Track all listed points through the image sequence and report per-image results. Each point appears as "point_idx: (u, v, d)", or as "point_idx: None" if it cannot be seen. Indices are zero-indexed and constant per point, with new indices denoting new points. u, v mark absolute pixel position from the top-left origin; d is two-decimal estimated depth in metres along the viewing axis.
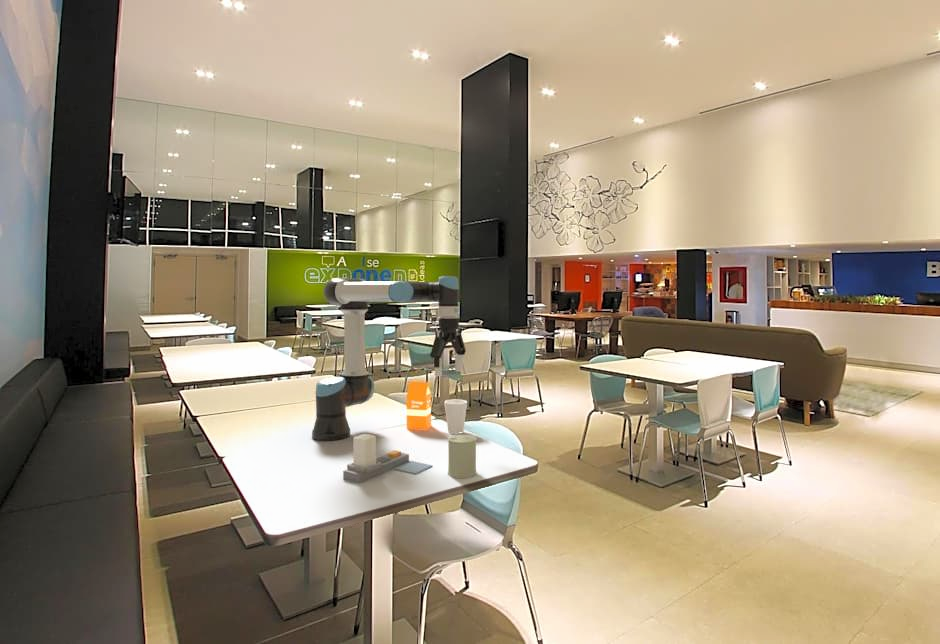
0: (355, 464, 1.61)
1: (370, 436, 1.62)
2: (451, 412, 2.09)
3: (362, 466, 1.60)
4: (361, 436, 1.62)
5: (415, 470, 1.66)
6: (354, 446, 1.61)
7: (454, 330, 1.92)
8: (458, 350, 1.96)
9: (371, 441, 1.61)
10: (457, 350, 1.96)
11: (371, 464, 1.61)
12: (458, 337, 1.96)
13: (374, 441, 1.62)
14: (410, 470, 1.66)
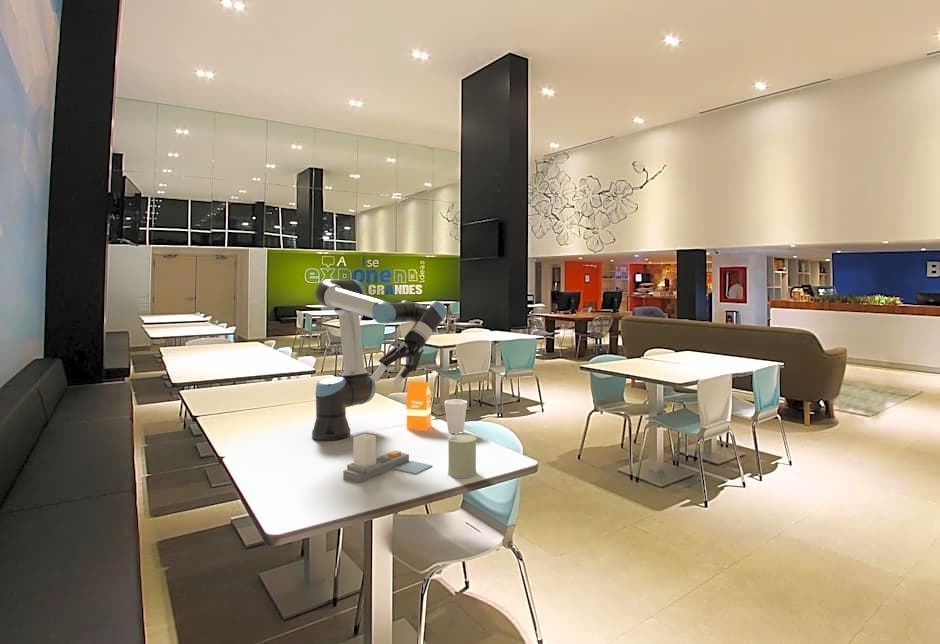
0: (355, 464, 1.61)
1: (370, 436, 1.62)
2: (451, 412, 2.09)
3: (362, 466, 1.60)
4: (361, 436, 1.62)
5: (415, 470, 1.66)
6: (354, 446, 1.61)
7: None
8: (389, 362, 1.86)
9: (371, 441, 1.61)
10: (388, 362, 1.85)
11: (371, 464, 1.61)
12: None
13: (374, 441, 1.62)
14: (410, 470, 1.66)
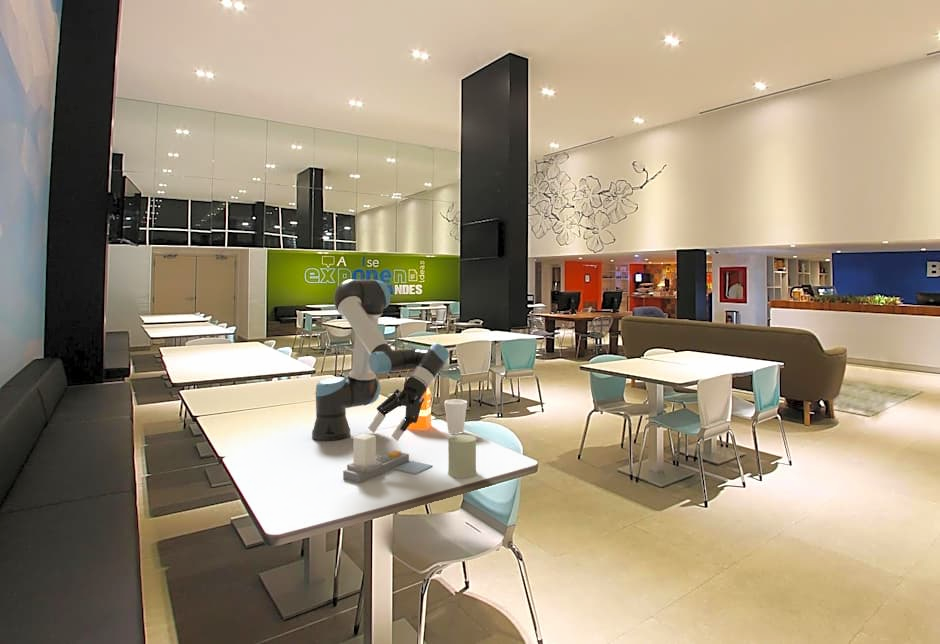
0: (355, 464, 1.61)
1: (370, 436, 1.62)
2: (451, 412, 2.09)
3: (362, 466, 1.60)
4: (361, 436, 1.62)
5: (415, 470, 1.66)
6: (354, 446, 1.61)
7: None
8: (387, 411, 1.73)
9: (371, 441, 1.61)
10: (386, 410, 1.73)
11: (371, 464, 1.61)
12: None
13: (374, 441, 1.62)
14: (410, 470, 1.66)
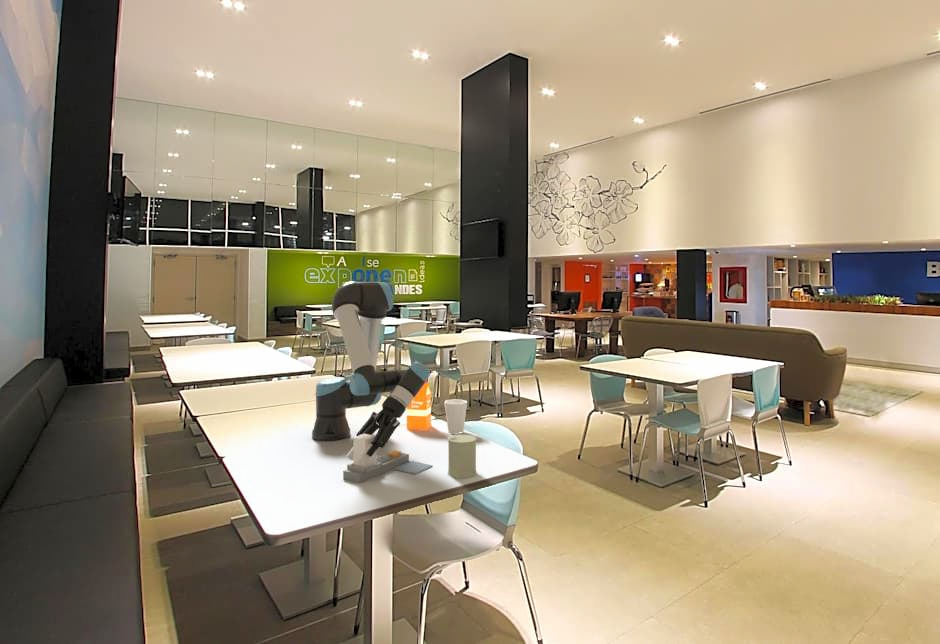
0: (355, 464, 1.61)
1: (370, 436, 1.62)
2: (451, 412, 2.09)
3: (362, 466, 1.60)
4: (361, 436, 1.62)
5: (415, 470, 1.66)
6: (354, 446, 1.61)
7: None
8: None
9: (371, 441, 1.61)
10: None
11: (371, 464, 1.61)
12: None
13: None
14: (410, 470, 1.66)
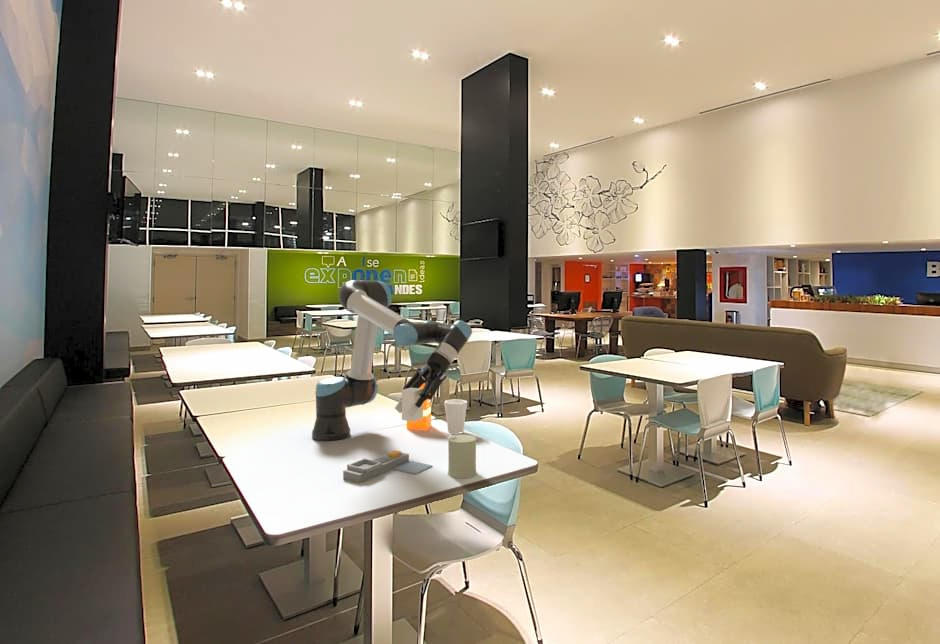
0: (403, 416, 1.67)
1: (417, 389, 1.68)
2: (451, 412, 2.09)
3: (410, 417, 1.65)
4: (409, 389, 1.68)
5: (415, 470, 1.66)
6: (402, 398, 1.67)
7: None
8: None
9: (418, 393, 1.67)
10: None
11: (419, 416, 1.67)
12: (419, 377, 1.76)
13: None
14: (410, 470, 1.66)
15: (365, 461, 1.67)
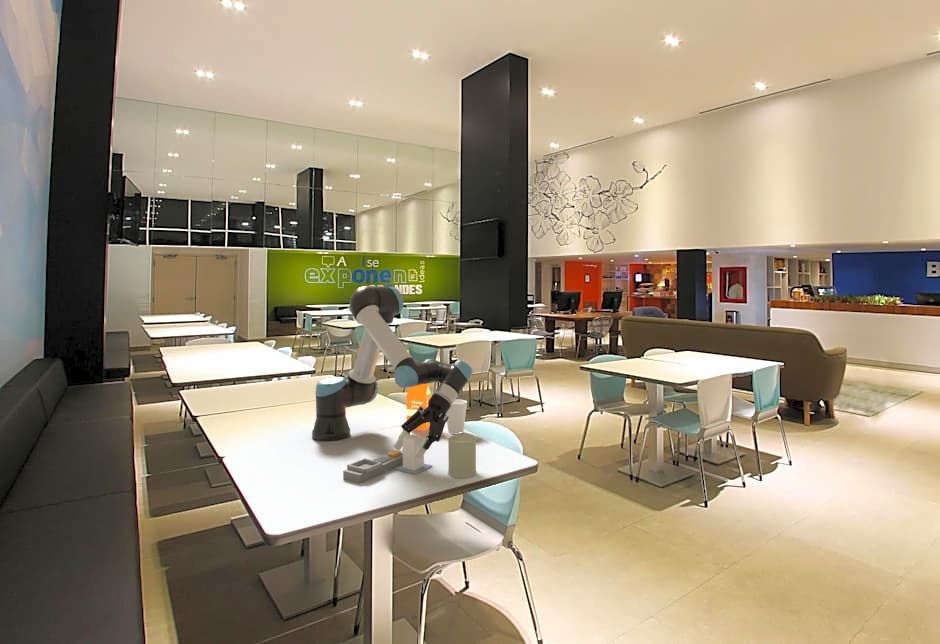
0: (404, 463, 1.68)
1: (418, 437, 1.69)
2: (451, 412, 2.09)
3: (411, 465, 1.66)
4: (410, 437, 1.69)
5: (415, 470, 1.66)
6: (403, 446, 1.68)
7: None
8: (412, 429, 1.75)
9: (419, 441, 1.68)
10: (411, 428, 1.75)
11: (419, 464, 1.68)
12: None
13: (422, 441, 1.69)
14: (410, 470, 1.66)
15: (365, 461, 1.67)
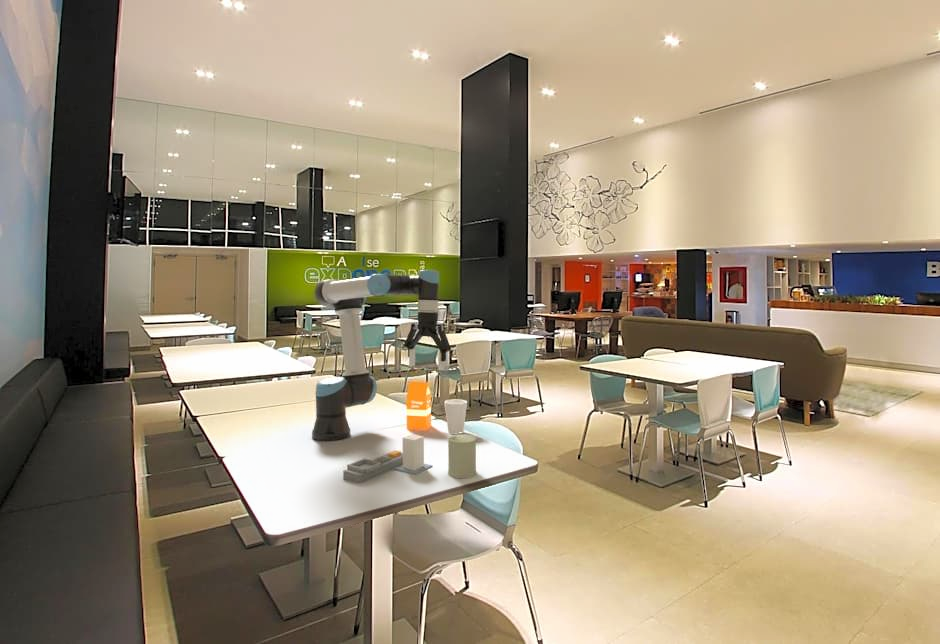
0: (404, 463, 1.68)
1: (418, 437, 1.69)
2: (451, 412, 2.09)
3: (411, 465, 1.66)
4: (410, 437, 1.69)
5: (415, 470, 1.66)
6: (403, 446, 1.68)
7: None
8: (415, 344, 1.93)
9: (419, 441, 1.68)
10: (414, 344, 1.93)
11: (419, 464, 1.68)
12: (415, 331, 1.93)
13: (422, 441, 1.69)
14: (410, 470, 1.66)
15: (365, 461, 1.67)
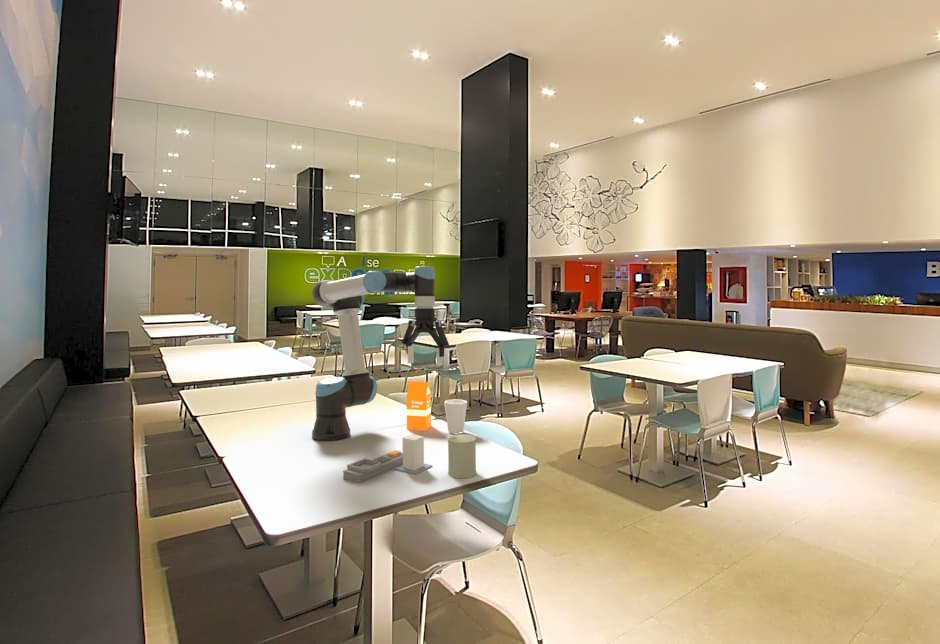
0: (404, 463, 1.68)
1: (418, 437, 1.69)
2: (451, 412, 2.09)
3: (411, 465, 1.66)
4: (410, 437, 1.69)
5: (415, 470, 1.66)
6: (403, 446, 1.68)
7: None
8: (413, 341, 1.94)
9: (419, 441, 1.68)
10: (412, 341, 1.93)
11: (419, 464, 1.68)
12: (412, 328, 1.93)
13: (422, 441, 1.69)
14: (410, 470, 1.66)
15: (365, 461, 1.67)
